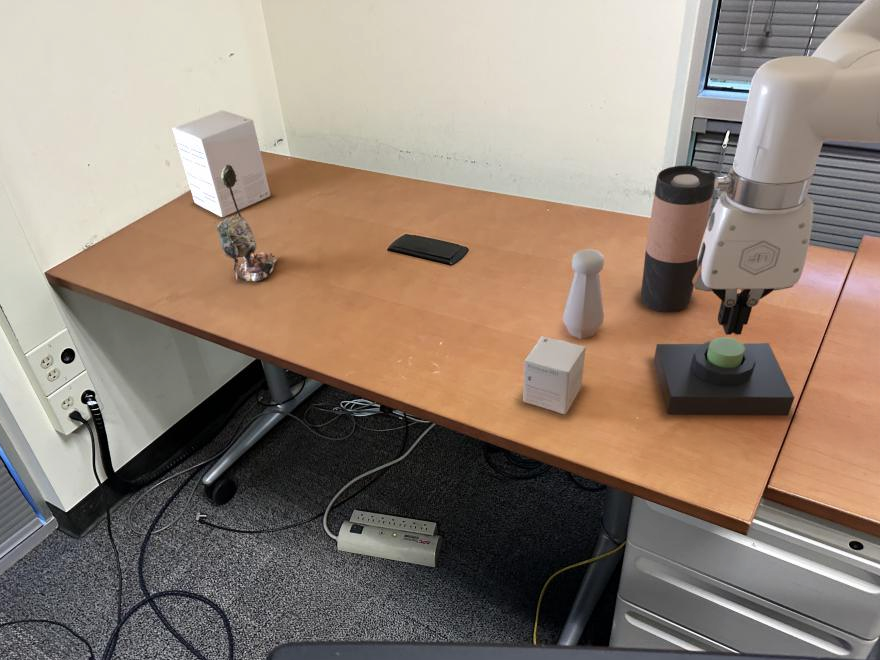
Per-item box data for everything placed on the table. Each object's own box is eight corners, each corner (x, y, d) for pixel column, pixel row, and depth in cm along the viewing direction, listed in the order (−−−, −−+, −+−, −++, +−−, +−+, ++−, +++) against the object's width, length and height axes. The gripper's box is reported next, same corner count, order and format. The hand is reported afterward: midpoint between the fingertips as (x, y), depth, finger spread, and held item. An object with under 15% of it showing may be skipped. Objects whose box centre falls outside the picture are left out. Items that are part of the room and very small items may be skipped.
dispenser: (763, 360, 93) (772, 330, 89) (788, 415, 84) (799, 384, 81) (653, 361, 95) (658, 331, 92) (667, 414, 87) (673, 384, 84)
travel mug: (640, 312, 104) (658, 188, 92) (637, 286, 110) (654, 165, 97) (694, 314, 102) (721, 187, 90) (688, 286, 108) (713, 164, 95)
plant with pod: (218, 282, 128) (186, 181, 116) (258, 254, 135) (233, 155, 122) (249, 292, 124) (220, 187, 111) (289, 262, 131) (266, 161, 118)
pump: (736, 349, 88) (740, 336, 87) (745, 369, 85) (748, 356, 84) (703, 350, 89) (706, 337, 88) (710, 369, 86) (713, 356, 85)
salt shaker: (607, 324, 103) (616, 247, 95) (596, 345, 100) (604, 267, 91) (568, 316, 106) (574, 241, 98) (556, 337, 102) (561, 260, 94)
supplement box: (241, 183, 164) (222, 108, 153) (271, 196, 156) (254, 118, 145) (193, 203, 158) (170, 127, 147) (222, 218, 150) (200, 139, 139)
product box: (521, 402, 92) (522, 359, 88) (539, 376, 96) (541, 334, 91) (566, 416, 89) (569, 372, 85) (582, 388, 93) (586, 345, 88)
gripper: (699, 205, 71) (670, 346, 83) (860, 198, 68) (807, 346, 80) (685, 175, 77) (660, 311, 88) (833, 168, 74) (787, 310, 85)
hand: (730, 327), depth 84 cm, fingers closed
